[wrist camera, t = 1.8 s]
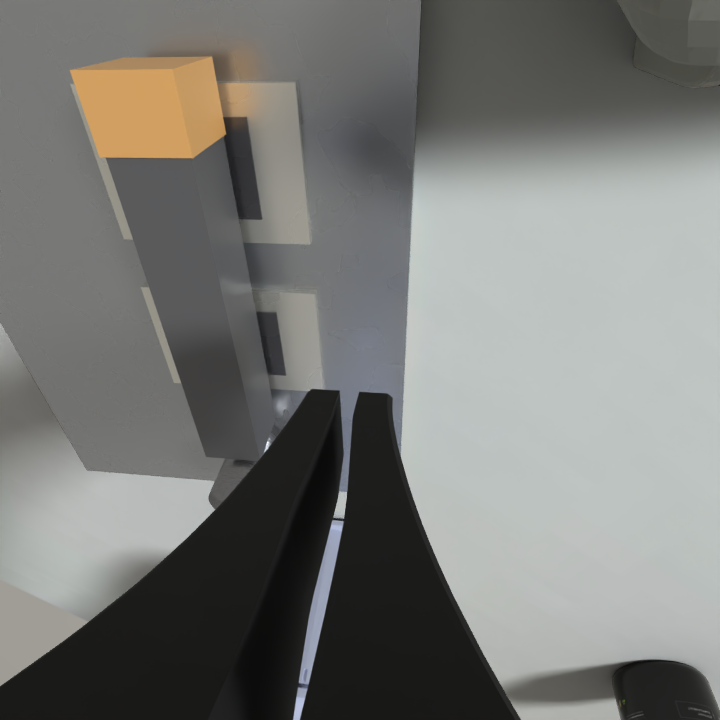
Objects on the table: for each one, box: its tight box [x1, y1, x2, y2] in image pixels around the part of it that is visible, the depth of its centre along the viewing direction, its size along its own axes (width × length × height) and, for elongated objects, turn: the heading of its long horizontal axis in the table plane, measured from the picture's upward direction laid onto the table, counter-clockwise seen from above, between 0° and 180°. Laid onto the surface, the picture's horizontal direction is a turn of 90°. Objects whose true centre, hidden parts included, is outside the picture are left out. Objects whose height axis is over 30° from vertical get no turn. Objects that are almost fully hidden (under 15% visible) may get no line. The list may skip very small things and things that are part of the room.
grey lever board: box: [0, 0, 422, 509], centre depth 19 cm, size 22×18×5 cm
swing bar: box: [70, 56, 276, 461], centre depth 17 cm, size 14×3×3 cm, turn 2°
